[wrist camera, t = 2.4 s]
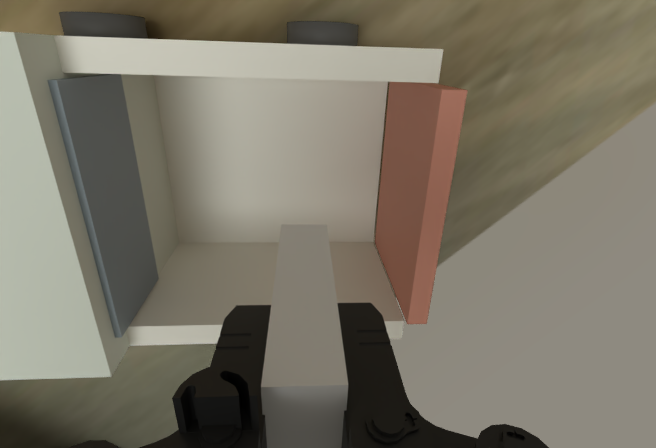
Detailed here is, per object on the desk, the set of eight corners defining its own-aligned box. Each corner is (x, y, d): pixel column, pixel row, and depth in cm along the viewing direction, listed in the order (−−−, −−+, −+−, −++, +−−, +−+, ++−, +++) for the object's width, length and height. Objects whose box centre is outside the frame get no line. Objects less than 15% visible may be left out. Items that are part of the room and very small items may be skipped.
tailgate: (392, 242, 27) (432, 323, 19) (374, 242, 27) (407, 324, 19) (411, 77, 22) (475, 90, 14) (389, 76, 22) (442, 89, 14)
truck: (362, 247, 32) (408, 388, 19) (110, 248, 31) (-42, 404, 17) (379, 29, 25) (472, -2, 12) (55, 16, 24) (-277, -36, 10)
